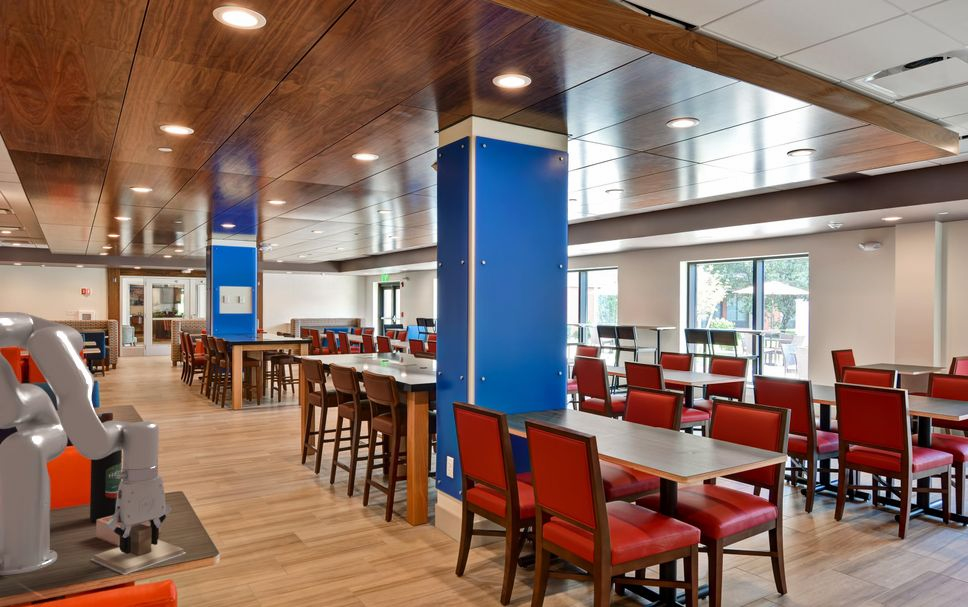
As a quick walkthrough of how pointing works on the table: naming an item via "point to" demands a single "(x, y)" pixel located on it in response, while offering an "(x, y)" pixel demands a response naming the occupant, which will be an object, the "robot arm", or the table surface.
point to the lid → (138, 551)
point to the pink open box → (108, 534)
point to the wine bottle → (105, 482)
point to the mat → (133, 570)
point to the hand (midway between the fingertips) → (139, 547)
